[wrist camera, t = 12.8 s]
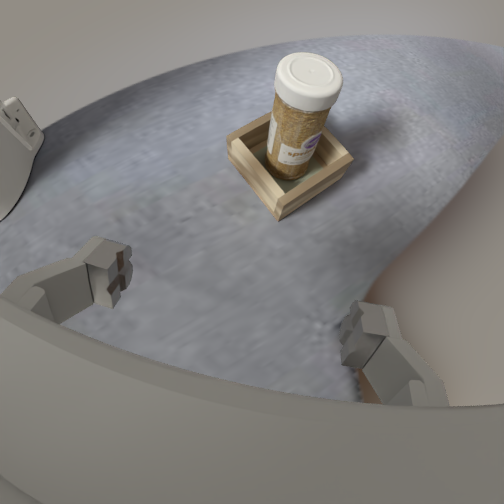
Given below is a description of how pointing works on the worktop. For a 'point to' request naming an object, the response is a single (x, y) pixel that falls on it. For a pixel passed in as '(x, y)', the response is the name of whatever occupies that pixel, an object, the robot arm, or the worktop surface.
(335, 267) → the worktop surface
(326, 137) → the box
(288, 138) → the sprinkles bottle
